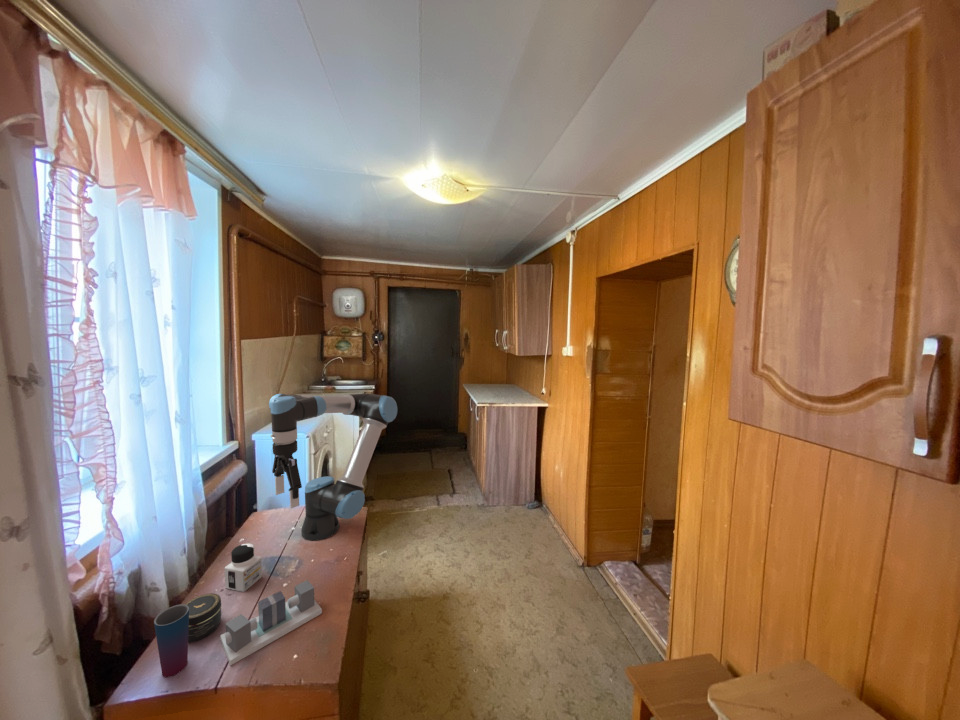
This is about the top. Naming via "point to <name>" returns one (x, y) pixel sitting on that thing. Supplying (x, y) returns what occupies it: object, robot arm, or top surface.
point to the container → (243, 568)
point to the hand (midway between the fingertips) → (287, 499)
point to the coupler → (271, 611)
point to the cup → (172, 639)
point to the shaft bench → (250, 636)
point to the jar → (203, 616)
